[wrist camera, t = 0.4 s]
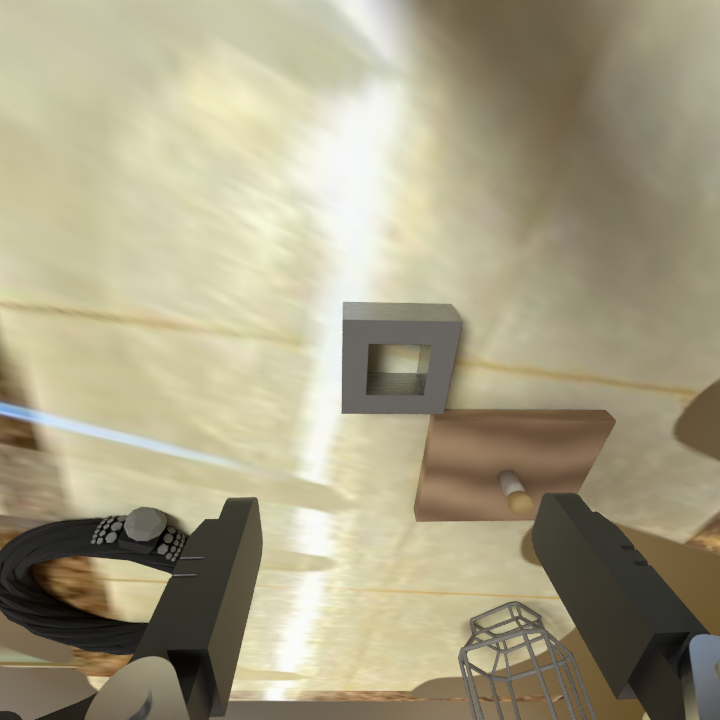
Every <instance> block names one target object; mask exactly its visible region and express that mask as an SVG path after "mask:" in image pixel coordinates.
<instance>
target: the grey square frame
mask: <svg viewBox="0 0 720 720" xmlns="http://www.w3.org/2000/svg"><path fill="white" fill-rule="evenodd" d="M461 326H462V320H461V319H460V317H459V316H458V314H457V313H456V311H455V310H454V308H453V306H452V305H451V304H417V303H366V302H343V345H342V414H444V409H445V404H446V399H447V394H448V389H449V385H450V380H451V375H452V370H453V365H454V360H455V355H456V350H457V346H458V341H459V336H460V331H461ZM369 344H414V345H421V349H420V356H419V363H418V370H417V374H413V373H367V366H368V348H369Z"/></svg>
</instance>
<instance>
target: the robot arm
mask: <svg viewBox="0 0 720 720" xmlns="http://www.w3.org/2000/svg"><path fill="white" fill-rule="evenodd" d="M532 542H533V547H534V550H535V553H536V555H537V557H538V559H539V561H540V563H541V564H542V566H543V568H544V570H545V572H546V573H547V575H548V577H549V579H550V581H551V582H552V584H553V586H554V588H555V590H556V591H557V593H558V595H559V597H560V599H561V600H562V602H563V604H564V606H565V607H566V609H567V611H568V613H569V615H570V616H571V618H572V620H573V622H574V624H575V625H576V627H577V629H578V631H579V632H580V634H581V636H582V638H583V640H584V642H585V643H586V645H587V647H588V649H589V650H590V652H591V654H592V656H593V658H594V659H595V661H596V663H597V665H598V667H599V668H600V670H601V672H602V674H603V676H604V677H605V679H606V681H607V683H608V685H609V686H610V688H611V690H612V692H613V694H614V695H615V697H616V699H617V700H620V699H638V700H639V701H640V703H641V705H642V706H643V708H644V710H645V711H646V712H645V713H644V716H643V720H720V637H717V636H713V635H711V634H710V633H709V632H708V631H707V630H706V629H705V628H704V627H703V625H702V624H701V623H700V622H699V621H698V620H697V618H696V617H695V616H694V615H693V614H692V613H691V611H690V610H689V609H688V608H687V607H686V606H685V604H683V602H682V601H681V600H680V599H679V598H678V596H677V595H676V594H675V593H674V592H673V590H672V589H671V588H670V587H669V586H668V585H667V584H666V582H665V581H664V580H663V579H662V578H661V577H660V575H659V574H658V573H657V572H656V571H655V570H654V568H653V567H652V566H651V565H650V566H649V565H648V563H647V561H646V559H645V558H644V557H643V556H642V555H641V554H640V552H639V551H638V550H635V549H634V545H633V544H632V543H631V542H630V541H629V539H628V538H627V537H626V536H625V535H624V534H623V532H622V531H621V530H620V529H619V528H618V527H617V526H616V525H614V524H613V523H612V522H610V521H609V520H608V519H606V518H605V517H604V516H602V515H601V514H600V513H598V512H592V511H591V510H590V508H589V507H588V506H587V505H586V504H585V502H584V501H583V500H582V499H581V498H580V496H579V495H577V494H576V493H573V492H562V493H545V494H544V495H543V496H542V499H541V502H540V506H539V509H538V513H537V516H536V520H535V523H534V527H533V530H532ZM262 545H263V539H262V529H261V521H260V513H259V505H258V500H257V498H256V497H246V498H228V499H227V500H226V502H225V504H224V507H223V509H222V512H221V514H220V517H219V519H205V520H204V521H203V522H202V523H201V524H200V526H199V527H198V528H197V529H196V530H195V531H194V532H193V533H192V534H191V535H190V536H189V538H188V540H187V542H186V545H185V547H184V549H183V551H182V553H181V555H180V560H179V561H178V562H177V564H176V566H175V568H174V570H173V572H172V577H171V578H170V579H169V581H168V583H167V585H166V587H165V590H164V592H163V594H162V596H161V598H160V600H159V603H158V605H157V607H156V609H155V611H154V613H153V615H152V618H151V620H150V622H149V624H148V626H147V628H146V630H145V633H144V635H143V637H142V639H141V641H140V643H139V645H138V648H137V649H136V651H135V653H134V655H133V656H132V658H131V659H130V661H129V662H128V664H127V665H126V666H124V667H123V668H122V669H120V670H119V671H118V672H116V673H115V674H114V675H113V676H112V677H111V678H110V679H109V680H108V681H107V682H106V683H105V684H104V685H103V686H102V688H101V689H100V690H99V691H98V692H97V693H95V694H94V695H92V696H90V697H88V698H86V699H84V700H82V701H80V702H78V703H76V704H73V705H70V706H68V707H65V708H63V709H61V710H58V711H55V712H53V713H50V714H48V715H46V716H43V717H40V718H38V719H35V720H209V717H221V716H225V713H226V709H227V705H228V700H229V696H230V692H231V687H232V683H233V679H234V674H235V670H236V666H237V661H238V657H239V653H240V648H241V644H242V640H243V635H244V631H245V627H246V623H247V618H248V614H249V610H250V605H251V601H252V597H253V592H254V588H255V584H256V579H257V575H258V571H259V566H260V562H261V556H262ZM0 720H22V719H21V717H20V716H19V715H17V714H16V713H14V712H9V711H0Z"/></svg>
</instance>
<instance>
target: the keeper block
mask: <svg viewBox="0 0 720 720" xmlns="http://www.w3.org/2000/svg"><path fill="white" fill-rule="evenodd" d="M615 423H616V420H615V419H614V418H613V417H612V416H611V415H610V414H609V413H608V412H607V411H606V410H453V409H444V414H431V417H430V423H429V428H428V434H427V439H426V445H425V450H424V456H423V461H422V467H421V472H420V478H419V483H418V489H417V494H416V500H415V505H414V513H415V518H416V522H428V521H518V520H536V516H537V513H538V509H539V506H540V502H541V499H542V496H543V495H544V494H545V493H562V492H573V493H576V494H577V493H578V491H579V489H580V487H581V486H582V484H583V482H584V480H585V478H586V476H587V474H588V473H589V471H590V469H591V467H592V465H593V463H594V462H595V460H596V458H597V456H598V454H599V452H600V450H601V449H602V447H603V445H604V443H605V441H606V439H607V438H608V436H609V434H610V432H611V430H612V428H613V426H614V425H615Z"/></svg>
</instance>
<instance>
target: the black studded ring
mask: <svg viewBox="0 0 720 720" xmlns="http://www.w3.org/2000/svg"><path fill="white" fill-rule="evenodd" d="M111 518H112V519H111ZM167 520H168V518H166V516H165V514H164V512H162V511H159V510H157V509H154V508H148V507H141V508H138V509H136V510H133V511H132V512H131V513H130V514H129V516H126V515H124V516H120V517H118V516H113V517H111V516H108V517H106V518H105V519H94V520H79V521H61V522H54V523H51V524H47V525H44V526H41V527H38V528H34V529H31V530H28V531H26V532H24V533H22V534H21V535H19V536H17V537H16V538H14V539H13V540H11V541H10V542H8V543H7V544H6V545H5V546H4V547H3V548H2V549H1V550H0V610H1V611H2V613H3V614H4V615H5V616H6V617H7V618H8V619H9V620H10V621H13V622H15V623H17V624H19V625H21V626H23V627H25V628H26V629H27V630H29V631H30V632H32V633H33V634H35V635H38V636H41V637H44V638H47V639H50V640H54V641H57V642H60V643H63V644H66V645H72V646H75V647H77V648H80V649H83V650H86V651H91V652H105V653H110V654H115V655H130V654H134V653H135V651H136V649H137V648H138V645H139V643H140V641H141V639H142V637H143V635H144V633H145V630H146V628H147V626H148V624H149V623H147V624H136V623H128V622H123V621H110V620H105V619H102V618H100V617H97V616H94V615H90V614H86V613H81V612H76V611H74V610H73V609H71V608H70V607H68V606H66V605H64V604H62V603H61V602H59V601H57V600H55V599H53V598H51V597H48V596H47V595H46V594H45V593H44V592H43V591H42V590H41V588H40V587H39V586H38V585H37V584H36V583H35V582H34V581H33V580H32V578H31V577H30V575H29V574H30V566H31V565H33V564H36V563H40V562H43V561H46V560H51V559H58V558H64V557H70V556H88V557H98V558H108V559H119V560H129V561H132V562H136V563H139V564H142V565H145V566H149V567H152V568H155V569H158V570H162V571H165V572H168V573H170V574H172V572H173V570H174V568H175V566H176V564H177V562H178V561H179V560H180V555H181V553H182V551H183V549H184V547H185V545H186V542H187V540H185V535H184V534H181V532H180V531H179V530H177V531H176V530H175V529H174V528H173V527H170V526H169V527H167V528H166V523H167ZM165 528H166V530H164V529H165ZM180 534H181V536H180Z"/></svg>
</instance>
